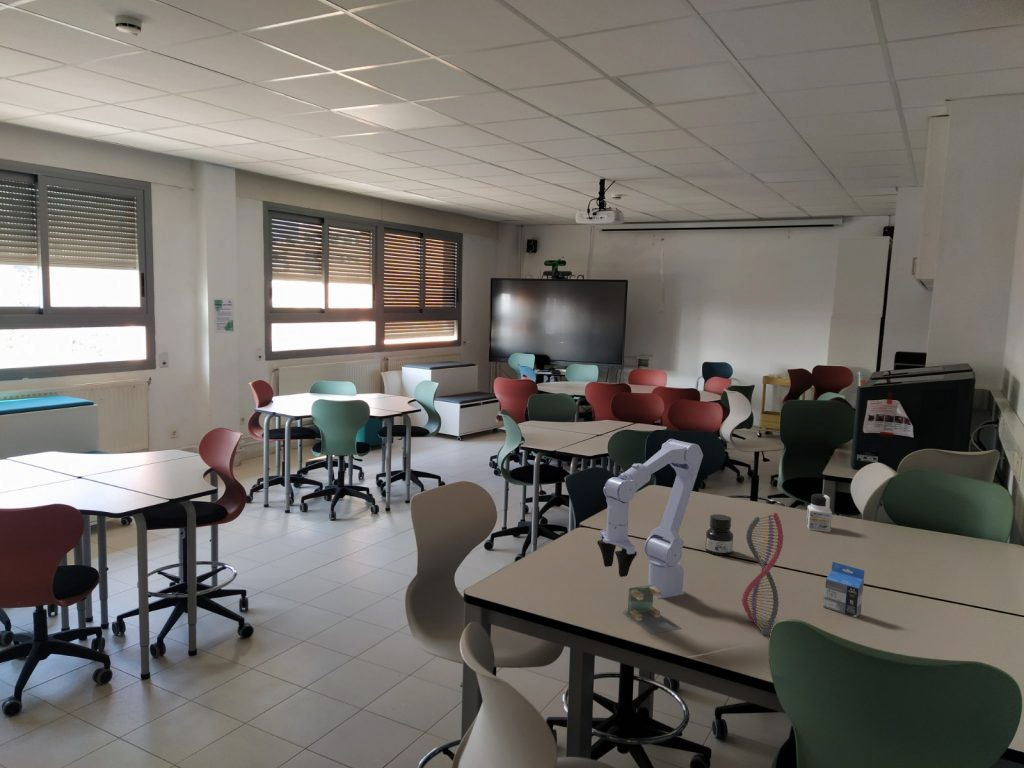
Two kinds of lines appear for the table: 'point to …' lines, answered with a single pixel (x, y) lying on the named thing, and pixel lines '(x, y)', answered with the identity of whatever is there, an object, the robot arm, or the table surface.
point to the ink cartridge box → (844, 590)
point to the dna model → (763, 571)
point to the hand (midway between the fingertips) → (615, 571)
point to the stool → (642, 601)
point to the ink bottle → (719, 535)
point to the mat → (654, 623)
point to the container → (819, 513)
